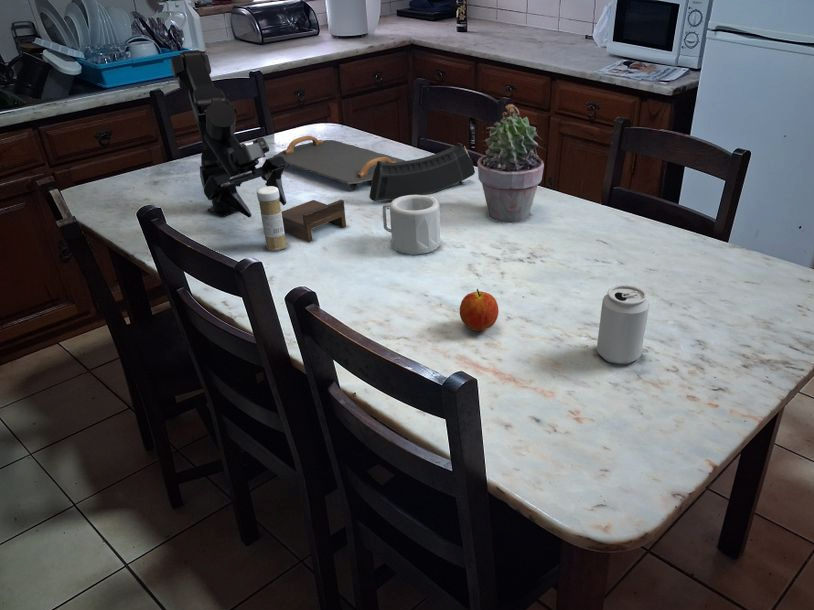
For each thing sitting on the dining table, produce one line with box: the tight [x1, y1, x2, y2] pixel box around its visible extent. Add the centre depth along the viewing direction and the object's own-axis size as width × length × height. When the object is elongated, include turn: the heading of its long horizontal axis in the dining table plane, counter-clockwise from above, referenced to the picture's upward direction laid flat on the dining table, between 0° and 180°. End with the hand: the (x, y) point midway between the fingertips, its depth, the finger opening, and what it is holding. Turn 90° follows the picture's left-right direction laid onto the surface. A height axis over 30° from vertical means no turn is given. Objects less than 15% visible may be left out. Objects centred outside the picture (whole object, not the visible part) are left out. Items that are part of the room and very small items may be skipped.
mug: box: [382, 195, 441, 255], centre depth 154 cm, size 14×11×10 cm
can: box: [596, 284, 650, 365], centre depth 116 cm, size 8×8×12 cm
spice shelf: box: [281, 199, 347, 243], centre depth 163 cm, size 11×12×6 cm
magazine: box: [368, 142, 476, 202], centre depth 181 cm, size 17×3×30 cm
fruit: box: [459, 288, 499, 332], centre depth 125 cm, size 7×7×8 cm
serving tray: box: [272, 135, 406, 192], centre depth 198 cm, size 39×23×6 cm, turn 51°
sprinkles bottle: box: [256, 185, 288, 252], centre depth 152 cm, size 5×5×13 cm
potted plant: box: [477, 103, 548, 224], centre depth 164 cm, size 18×20×25 cm
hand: (268, 210), depth 151 cm, fingers open, 9 cm apart
